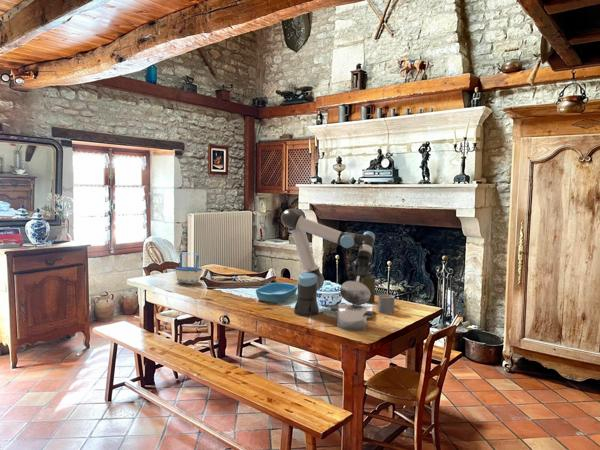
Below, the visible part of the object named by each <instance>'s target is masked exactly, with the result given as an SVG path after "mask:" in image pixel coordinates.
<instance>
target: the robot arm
mask: <svg viewBox="0 0 600 450" xmlns="http://www.w3.org/2000/svg"><path fill="white" fill-rule="evenodd" d="M280 221H281V224H282V225H283V226H284V227H286V228H287V229H288V232H289V233H290V234H291V235H292V238H293V241H294V244H295V248H296V251H297V255H298V257H299V262H300V263H301V264H300V265H301V268H302V271H301V273H300V274H299V275H298V277H297V286H298V288H297V296H296V297H297V300H296V302H295V305H294V308H293V309H294V310H293V313H294V314H296V315H298V316H302V317H303V316H304V317H305V316H306V317H307V316H308V317H312V316H317V315H319V314H320V308H319V304H318V302H317V300H318V299H317V297H318V296H317V294H318V291H320V289H322V287H323V285H324V283H325V278H324V275H323V274H322V273H321V271H320V267H318V266H317V265H316V263H315V259H314V256H313V252H312V249H311V246H310V242H309V239H308V235H307V233H308V234H310V235H313V236H316V237H318V238H321V239H324V240H327V241H329V242H332V243H335V244H337V245H340V246H341V247H343V249H344V248H345V249H348V248H349V249H350V248H352V247H354V246H355V247H359V250H358V253H357V257H356V259H355V260H351V265H352V275H353V278H354V281H358V282H360V283H361V282H362V278H366V277H367V275H368V273H369V272H371V269H372V268H374V263H373V262H371V258H372V253H373V249H374V246H375V245H374V244H375V240H376V234H375V233H374V232H372V231H368V230H367V231H365V232H363V234H359V233H353V232H346V231H345V232H343V231H340V230H338V229H335V228H333V227H330V226H326V225H324V224H322V223H319V222H316V221H313V220H311V219H308V218H307V217H306V213H305V212H304V211H303V209H299V208H288V209H285V210H284V211H283V212H282V214H281V216H280ZM356 265H357V269H356Z"/></svg>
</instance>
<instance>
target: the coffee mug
mask: <svg viewBox="0 0 600 450" xmlns="http://www.w3.org/2000/svg"><path fill="white" fill-rule="evenodd" d="M377 298H378V299H377V301H378V302H377V312H378V313H380V314H383V315H392V314H395V295H393V294H392V295H391V294H386V293H385V294H383V293H382V294H378V297H377Z"/></svg>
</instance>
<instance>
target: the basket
mask: <svg viewBox="0 0 600 450" xmlns="http://www.w3.org/2000/svg"><path fill="white" fill-rule="evenodd" d="M183 254H185V255H190V253H189V252H185V251H184V252H183V251H182V252H180V253H179V267H178V266H176V267H175V268H174V269H175V275H176V281H177V282H178V283H182V284H183V283H184V284H187V285H188V284H193V285H194V284H198V283H199V280H200V277H201V274H202V270H203V268H202V267H198V265H199V257H200V256H199V254H197V253H194V255H195V256H196V257H195V258H196V260H195V267H194V266H183Z"/></svg>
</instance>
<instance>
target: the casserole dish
mask: <svg viewBox="0 0 600 450" xmlns="http://www.w3.org/2000/svg"><path fill="white" fill-rule="evenodd" d="M254 291H255V294H256V297H257V299H258V300H259V301H262V302H270V303H282V302H284V300H285V301H287V300H288V299H290V298H292V297H293V296H295V295H296V293H297V292H298V284H297V285H296V284H294V283H289V282H271V283H268V284H265V285H262V286H261V287H258V288H256V289H255V290H254ZM286 299H287V300H286Z"/></svg>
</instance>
